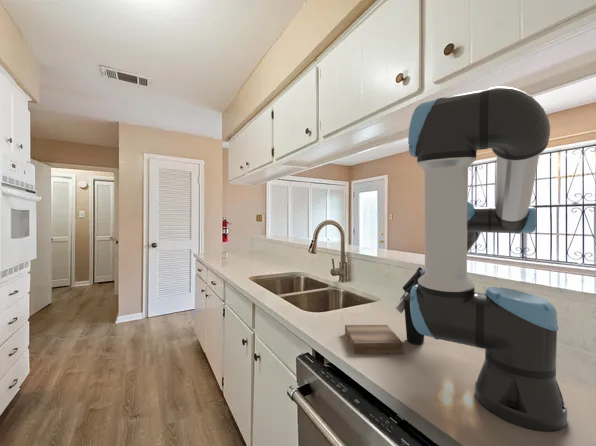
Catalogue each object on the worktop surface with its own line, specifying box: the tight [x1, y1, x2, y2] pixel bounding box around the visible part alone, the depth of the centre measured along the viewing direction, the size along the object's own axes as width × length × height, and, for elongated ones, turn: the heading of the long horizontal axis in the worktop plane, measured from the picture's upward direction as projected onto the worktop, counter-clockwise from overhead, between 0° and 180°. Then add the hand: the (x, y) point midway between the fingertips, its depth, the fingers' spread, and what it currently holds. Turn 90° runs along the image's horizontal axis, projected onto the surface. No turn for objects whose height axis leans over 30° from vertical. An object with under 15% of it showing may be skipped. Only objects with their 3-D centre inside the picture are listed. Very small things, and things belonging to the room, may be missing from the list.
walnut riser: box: [344, 324, 404, 355], centre depth 90 cm, size 14×14×3 cm
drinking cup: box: [402, 278, 425, 345], centre depth 91 cm, size 8×8×20 cm
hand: (406, 314), depth 90 cm, fingers closed on drinking cup, 7 cm apart
